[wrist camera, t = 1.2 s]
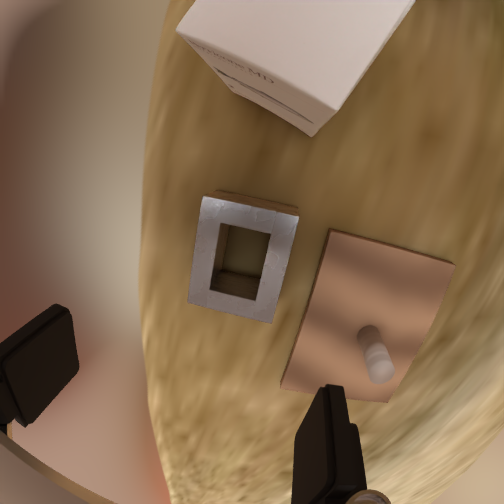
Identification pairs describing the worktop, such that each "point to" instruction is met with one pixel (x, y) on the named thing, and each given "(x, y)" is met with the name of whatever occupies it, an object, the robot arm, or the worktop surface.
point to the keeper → (365, 317)
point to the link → (213, 249)
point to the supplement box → (292, 50)
